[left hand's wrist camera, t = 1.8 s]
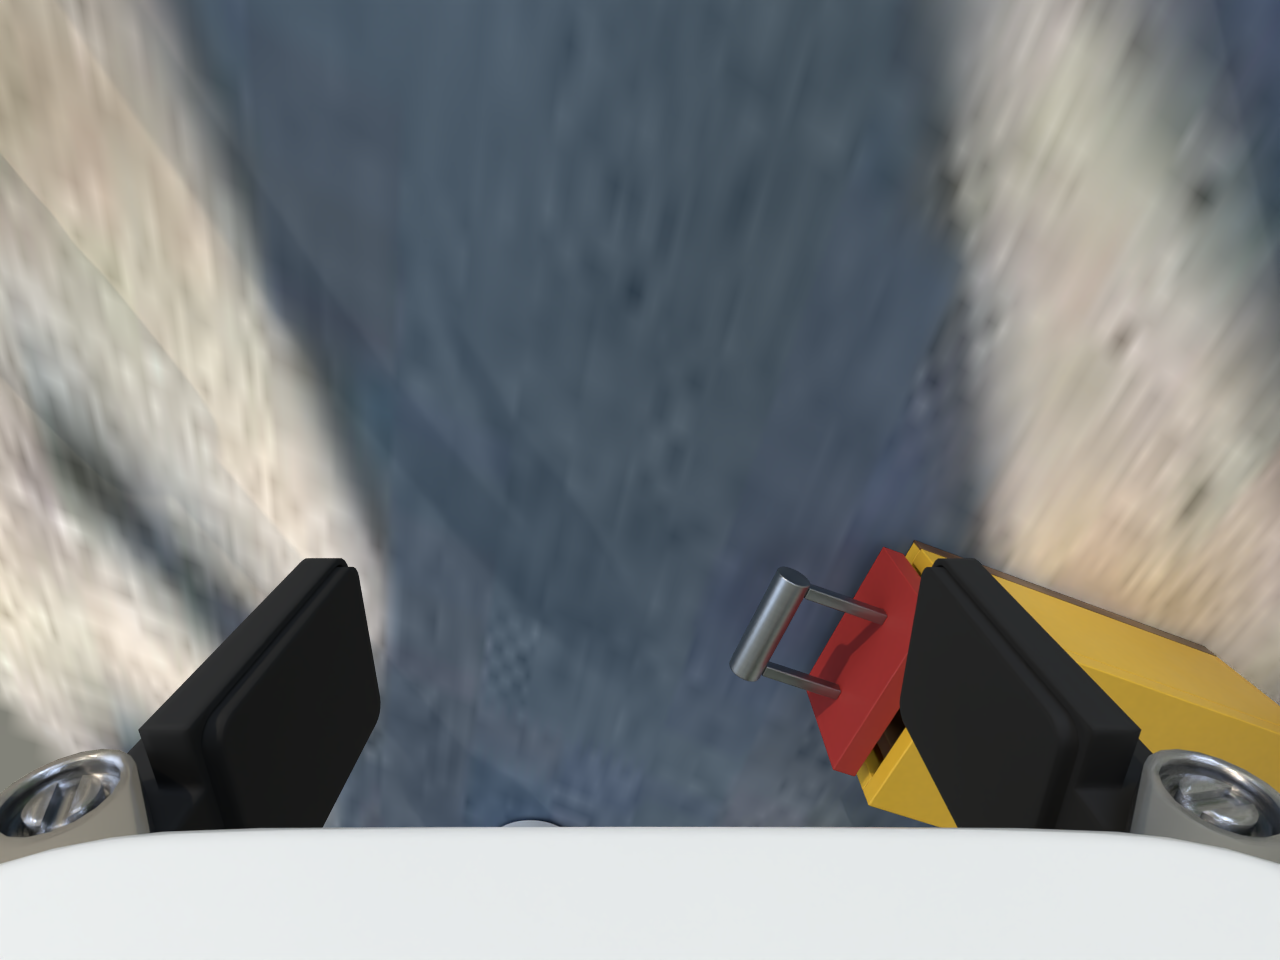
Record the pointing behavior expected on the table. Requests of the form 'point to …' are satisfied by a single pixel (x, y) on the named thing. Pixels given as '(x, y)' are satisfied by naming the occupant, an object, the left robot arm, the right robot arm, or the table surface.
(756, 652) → the drawer
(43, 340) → the table surface
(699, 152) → the table surface
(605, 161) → the table surface
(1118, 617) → the yellow drawer casing
